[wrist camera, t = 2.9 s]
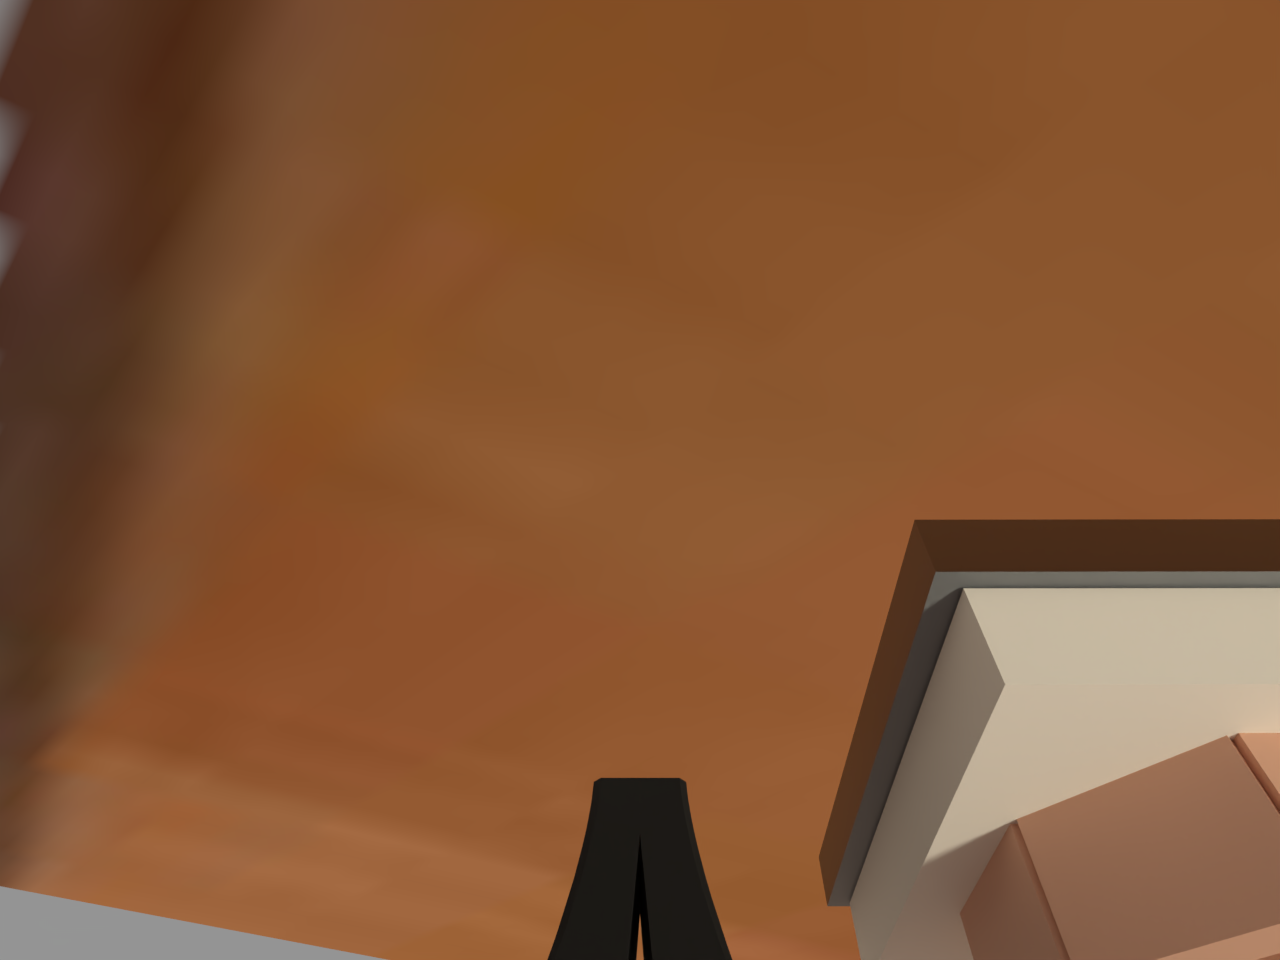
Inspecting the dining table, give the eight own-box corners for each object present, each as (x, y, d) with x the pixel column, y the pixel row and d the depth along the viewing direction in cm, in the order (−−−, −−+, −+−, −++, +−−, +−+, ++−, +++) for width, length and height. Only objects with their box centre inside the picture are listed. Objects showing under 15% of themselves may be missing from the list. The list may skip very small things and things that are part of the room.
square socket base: (963, 588, 10) (1081, 860, 8) (1664, 587, 10) (2037, 859, 8) (850, 903, 16) (893, 1124, 13) (1302, 902, 16) (1439, 1123, 13)
